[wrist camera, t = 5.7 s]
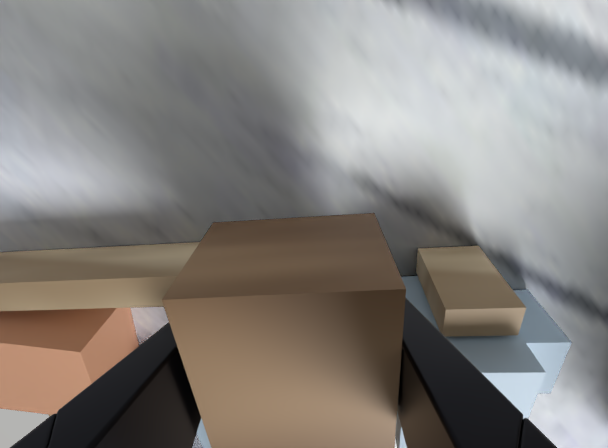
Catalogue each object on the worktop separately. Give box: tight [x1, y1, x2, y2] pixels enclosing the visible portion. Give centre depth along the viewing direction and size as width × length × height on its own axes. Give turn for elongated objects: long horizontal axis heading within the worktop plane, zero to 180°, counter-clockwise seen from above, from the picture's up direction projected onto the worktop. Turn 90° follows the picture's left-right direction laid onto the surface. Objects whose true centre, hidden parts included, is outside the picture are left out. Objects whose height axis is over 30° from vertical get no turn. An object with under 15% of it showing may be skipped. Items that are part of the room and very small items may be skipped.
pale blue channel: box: [197, 276, 572, 448], centre depth 11 cm, size 4×12×4 cm, turn 96°
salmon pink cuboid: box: [0, 308, 139, 415], centre depth 13 cm, size 4×5×3 cm
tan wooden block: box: [162, 213, 406, 448], centre depth 9 cm, size 12×4×3 cm, turn 5°
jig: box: [0, 242, 526, 416], centre depth 12 cm, size 8×18×3 cm, turn 96°
